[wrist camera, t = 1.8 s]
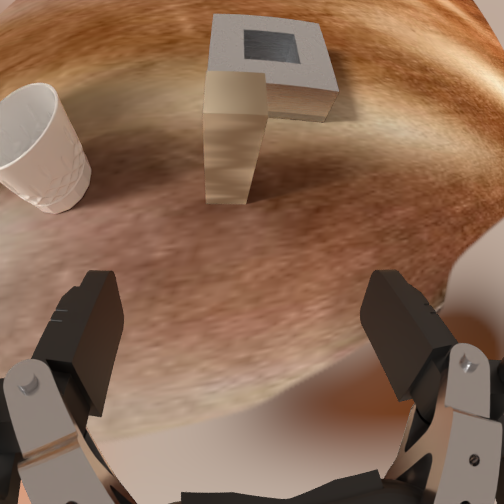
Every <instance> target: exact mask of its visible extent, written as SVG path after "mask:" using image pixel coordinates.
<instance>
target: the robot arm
mask: <svg viewBox="0 0 504 504" xmlns="http://www.w3.org/2000/svg"><path fill="white" fill-rule="evenodd" d="M360 320H361V324H362V326H363V328H364V330H365V332H366V334H367V336H368V338H369V340H370V342H371V344H372V346H373V348H374V350H375V352H376V354H377V356H378V359H379V360H380V363H381V365H382V367H383V369H384V371H385V373H386V375H387V377H388V379H389V381H390V384H391V386H392V388H393V390H394V392H395V394H396V397H397V399H398V401H399V402H401V401H405V400H408V399H413V400H414V402H415V404H414V405H413V407H412V408H411V411H410V414H409V418H408V422H407V425H406V429H405V432H404V436H403V439H402V442H401V445H400V448H399V451H398V454H397V457H396V459H395V461H394V462H393V464H392V466H391V467H390V468H389V470H388V471H387V473H386V475H385V477H384V479H381V478H380V475H379V472H378V470H373V471H370V472H366V473H362V474H358V475H355V476H350V477H345V478H341V479H337V480H333V481H331V482H329V483H327V484H324V485H322V486H320V487H318V488H315V489H313V490H311V491H308V492H306V493H303V494H301V495H298V496H296V497H293V498H290V499H276V498H267V497H259V496H252V495H245V494H239V493H234V492H229V493H191V492H181V501H179V502H173V503H170V504H494V501H495V499H496V501H497V504H504V358H503V359H502V360H488V359H487V357H486V356H485V355H484V353H483V352H482V351H481V350H479V349H478V348H477V347H475V346H473V345H470V344H467V343H460V344H459V343H458V342H457V340H456V339H455V338H454V336H453V335H452V333H451V332H450V331H449V329H448V328H447V326H446V325H445V324H444V322H443V321H442V320H441V318H440V317H439V315H438V314H436V311H435V310H434V309H433V307H432V306H431V305H429V302H428V301H427V300H426V298H425V297H424V296H423V294H422V293H421V292H420V291H418V290H417V289H416V288H414V287H413V286H411V285H410V284H408V283H407V281H406V280H405V279H404V278H403V276H402V275H401V274H400V273H399V271H397V270H375V271H374V272H373V273H372V275H371V277H370V281H369V284H368V287H367V290H366V293H365V296H364V300H363V303H362V306H361V310H360ZM123 326H124V314H123V308H122V304H121V300H120V296H119V291H118V287H117V282H116V277H115V274H114V272H113V271H97V270H90V271H88V272H87V274H86V276H85V277H84V279H83V281H82V283H81V285H80V287H76V286H74V287H73V288H72V289H70V290H69V291H68V292H67V293H66V294H65V295H64V296H63V297H62V298H61V300H60V302H59V304H58V305H57V307H56V311H54V313H53V315H52V317H51V321H49V323H48V325H47V327H46V329H45V331H44V333H43V335H42V337H41V339H40V341H39V343H38V345H37V347H36V349H35V351H34V353H33V356H32V358H31V359H27V360H23V361H21V362H19V363H17V364H15V365H14V366H13V367H12V368H11V369H10V370H9V371H8V373H7V374H6V376H5V378H1V379H0V504H18V496H19V489H20V481H21V480H22V483H23V485H24V487H25V490H26V492H27V494H28V497H29V499H30V501H31V503H32V504H137V503H136V501H135V500H134V499H133V498H132V496H131V495H130V494H129V492H128V491H127V490H126V489H125V488H124V486H123V485H122V484H121V482H120V481H119V480H118V478H117V477H116V475H115V474H114V472H113V471H112V469H111V468H110V466H109V465H108V463H107V461H106V460H105V458H104V456H103V455H102V453H101V452H100V450H99V448H98V446H97V444H96V443H95V441H94V439H93V437H92V435H91V434H90V432H89V430H88V428H87V427H86V424H87V420H88V416H89V415H90V416H97V417H102V413H103V408H104V403H105V399H106V394H107V390H108V386H109V381H110V377H111V373H112V369H113V365H114V361H115V357H116V353H117V350H118V346H119V342H120V339H121V335H122V331H123Z"/></svg>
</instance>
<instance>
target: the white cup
mask: <svg viewBox="0 0 504 504" xmlns="http://www.w3.org/2000/svg"><path fill="white" fill-rule="evenodd" d="M90 177H91V167H90V165H89V162H88V159H87V157H86V155H85V153H84V151H83V148H82V145H81V143H80V141H79V139H78V137H77V134H76V132H75V130H74V128H73V126H72V124H71V122H70V120H69V118H68V116H67V114H66V112H65V109H64V107H63V105H62V103H61V101H60V99H59V96H58V94H57V92H56V90H55V89H54V88H53V87H52V86H51V85H49V84H46V83H33V84H29V85H26V86H23V87H21V88H19V89H17V90H15V91H14V92H12V93H11V94H9V95H8V96H7V97H5V98H4V99H3V100H2V101H1V102H0V183H1V184H3V185H4V186H5V187H7V188H8V189H9V190H11V191H12V192H13V193H15V194H17V195H18V196H20V197H21V198H22V199H24V200H25V201H27V202H29V203H32V204H33V205H34V206H36V207H37V208H39V209H40V210H41V211H43V212H46V213H52V214H57V213H60V212H63V211H66V210H69V209H70V208H71V207H73V206H74V205H75V204H76V203H77V202H78V201H79V200H80V199H82V197H83V195H84V193H85V191H86V190H87V188H88V186H89V184H90Z"/></svg>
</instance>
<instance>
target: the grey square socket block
mask: <svg viewBox="0 0 504 504" xmlns="http://www.w3.org/2000/svg"><path fill="white" fill-rule="evenodd" d="M208 71H236V72H256V73H265V78H266V90H267V103H268V117H270V118H284V119H295V120H306V121H315V122H324V121H325V119H326V117H327V115H328V113H329V111H330V109H331V107H332V105H333V103H334V101H335V99H336V97H337V95H338V93H339V89H338V85H337V82H336V78H335V74H334V71H333V68H332V64H331V61H330V58H329V54H328V51H327V48H326V45H325V42H324V39H323V36H322V33H321V30H320V27H319V24H317V23H311V22H305V21H298V20H291V19H284V18H275V17H265V16H253V15H236V14H214V15H213V23H212V32H211V41H210V50H209V60H208Z"/></svg>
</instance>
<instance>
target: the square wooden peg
mask: <svg viewBox="0 0 504 504" xmlns="http://www.w3.org/2000/svg"><path fill="white" fill-rule="evenodd" d="M267 119H268V103H267V90H266V78H265V73H256V72H236V71H206V80H205V91H204V103H203V144H204V172H205V194H206V204H246V202H247V198H248V194H249V190H250V186H251V182H252V178H253V174H254V170H255V166H256V162H257V158H258V154H259V150H260V146H261V143H262V139H263V135H264V131H265V127H266V123H267Z"/></svg>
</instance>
